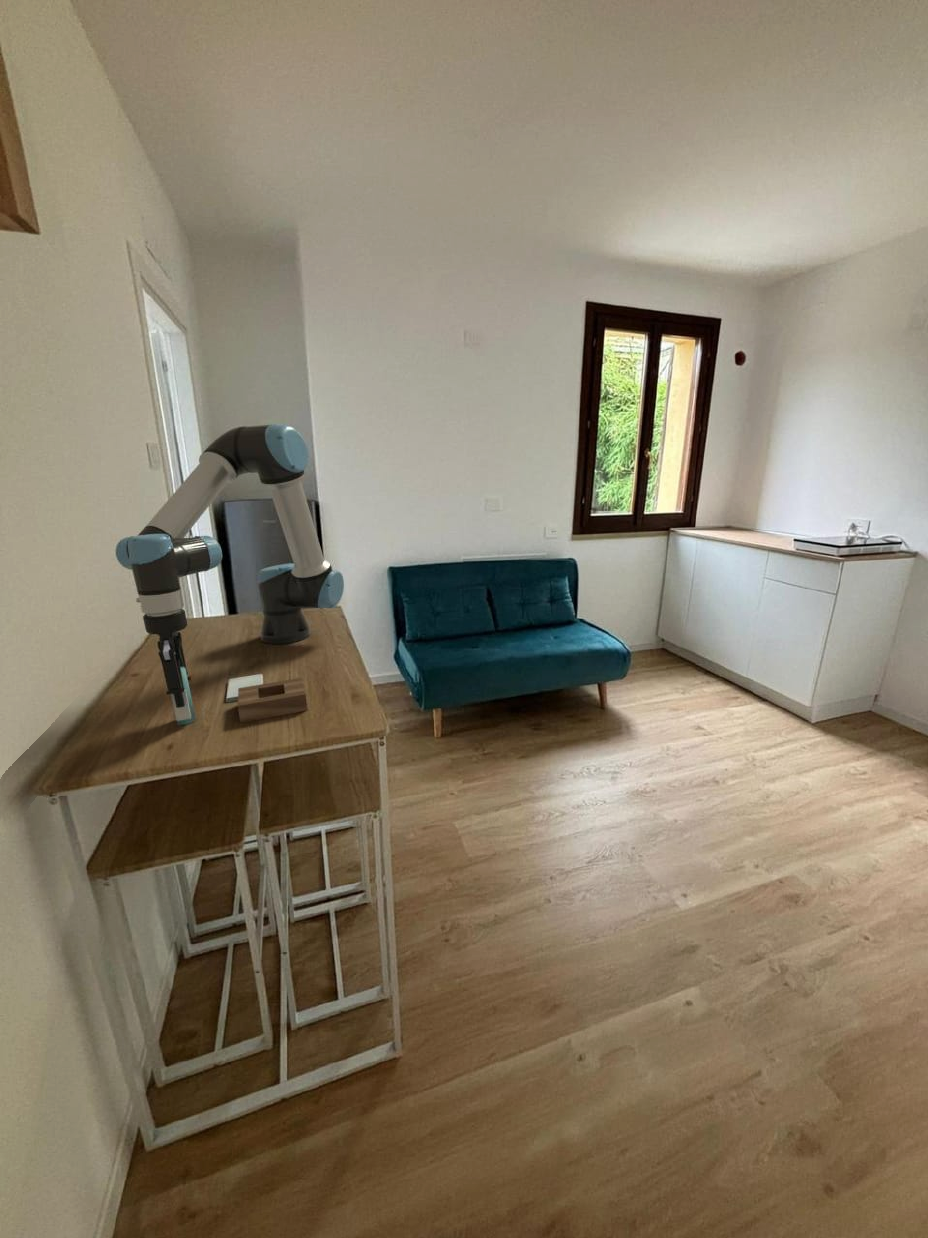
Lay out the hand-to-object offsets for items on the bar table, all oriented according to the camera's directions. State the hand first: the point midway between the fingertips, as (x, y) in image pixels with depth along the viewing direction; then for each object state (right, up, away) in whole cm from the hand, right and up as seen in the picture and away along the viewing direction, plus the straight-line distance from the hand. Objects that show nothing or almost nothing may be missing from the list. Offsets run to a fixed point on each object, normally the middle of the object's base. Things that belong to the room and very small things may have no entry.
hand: (185, 714), depth 111 cm
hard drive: (+6, +3, +16) cm, 18 cm away
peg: (0, -2, +1) cm, 2 cm away
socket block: (+17, +1, +6) cm, 18 cm away
